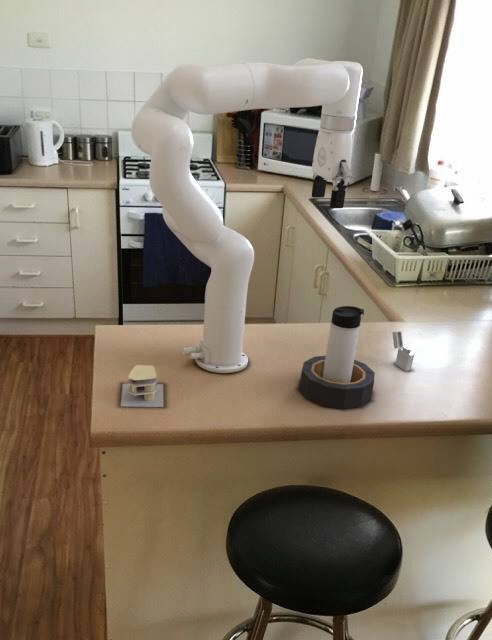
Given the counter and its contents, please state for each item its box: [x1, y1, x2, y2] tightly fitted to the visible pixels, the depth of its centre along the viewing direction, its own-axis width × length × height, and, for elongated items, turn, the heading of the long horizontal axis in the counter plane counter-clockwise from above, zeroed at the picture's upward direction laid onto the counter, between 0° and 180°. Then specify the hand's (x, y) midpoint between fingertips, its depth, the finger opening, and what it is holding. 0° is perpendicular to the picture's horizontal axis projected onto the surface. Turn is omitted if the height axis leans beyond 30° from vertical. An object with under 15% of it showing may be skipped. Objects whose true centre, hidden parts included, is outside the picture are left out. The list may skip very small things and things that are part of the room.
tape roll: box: [298, 355, 376, 410], centre depth 157 cm, size 16×16×5 cm
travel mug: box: [323, 305, 365, 383], centre depth 153 cm, size 6×7×20 cm
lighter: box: [391, 330, 415, 372], centre depth 170 cm, size 7×2×8 cm, turn 28°
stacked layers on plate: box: [120, 364, 164, 408], centre depth 149 cm, size 10×9×6 cm
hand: (326, 202), depth 161 cm, fingers open, 9 cm apart
